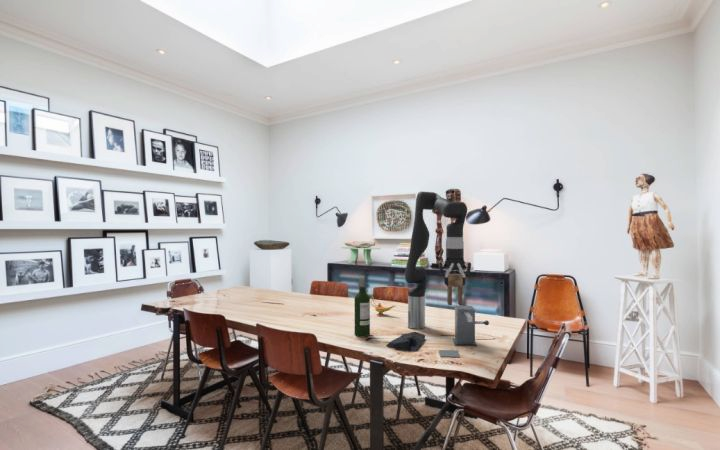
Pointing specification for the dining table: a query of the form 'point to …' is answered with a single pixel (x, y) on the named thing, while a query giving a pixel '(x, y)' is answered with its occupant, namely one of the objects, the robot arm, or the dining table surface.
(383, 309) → the magic lamp
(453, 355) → the felt pad
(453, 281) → the slotted wooden collar
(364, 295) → the wine bottle
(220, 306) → the dining table surface
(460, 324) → the vise stand
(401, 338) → the dark slate chunk
